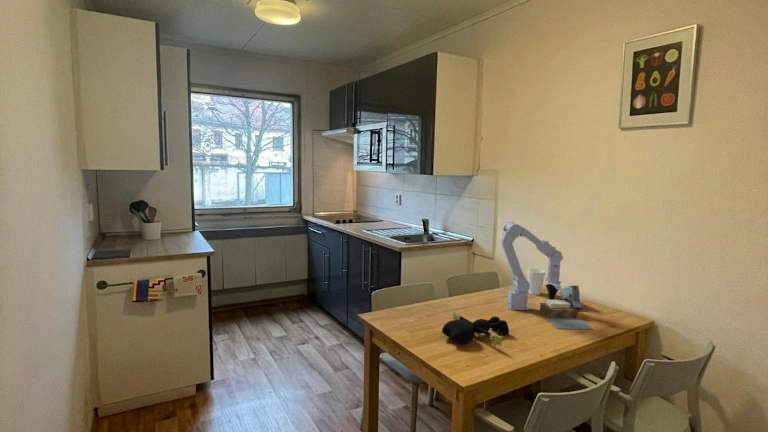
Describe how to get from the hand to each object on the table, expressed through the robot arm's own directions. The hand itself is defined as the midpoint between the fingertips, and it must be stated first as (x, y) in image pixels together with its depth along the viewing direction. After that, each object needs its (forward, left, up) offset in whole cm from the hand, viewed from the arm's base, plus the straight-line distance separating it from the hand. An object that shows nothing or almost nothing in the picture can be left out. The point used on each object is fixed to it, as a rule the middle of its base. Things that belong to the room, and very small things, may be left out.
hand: (551, 299), depth 218 cm
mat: (0, -21, -5) cm, 21 cm away
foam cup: (+1, +25, -5) cm, 26 cm away
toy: (-47, -37, -5) cm, 60 cm away
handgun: (+13, +7, -5) cm, 16 cm away
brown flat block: (0, -9, -5) cm, 10 cm away
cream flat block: (0, -8, -1) cm, 8 cm away
